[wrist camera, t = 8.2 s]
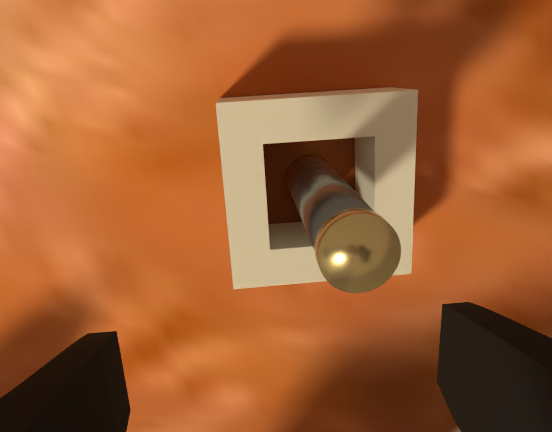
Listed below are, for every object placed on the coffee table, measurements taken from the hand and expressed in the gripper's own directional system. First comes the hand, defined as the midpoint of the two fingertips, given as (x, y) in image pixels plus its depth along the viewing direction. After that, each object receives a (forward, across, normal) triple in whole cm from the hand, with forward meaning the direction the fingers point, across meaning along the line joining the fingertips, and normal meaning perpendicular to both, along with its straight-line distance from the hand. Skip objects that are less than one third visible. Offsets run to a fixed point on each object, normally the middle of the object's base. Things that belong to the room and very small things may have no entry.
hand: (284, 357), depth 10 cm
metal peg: (+10, -2, -2) cm, 11 cm away
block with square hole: (+10, -2, -2) cm, 11 cm away
